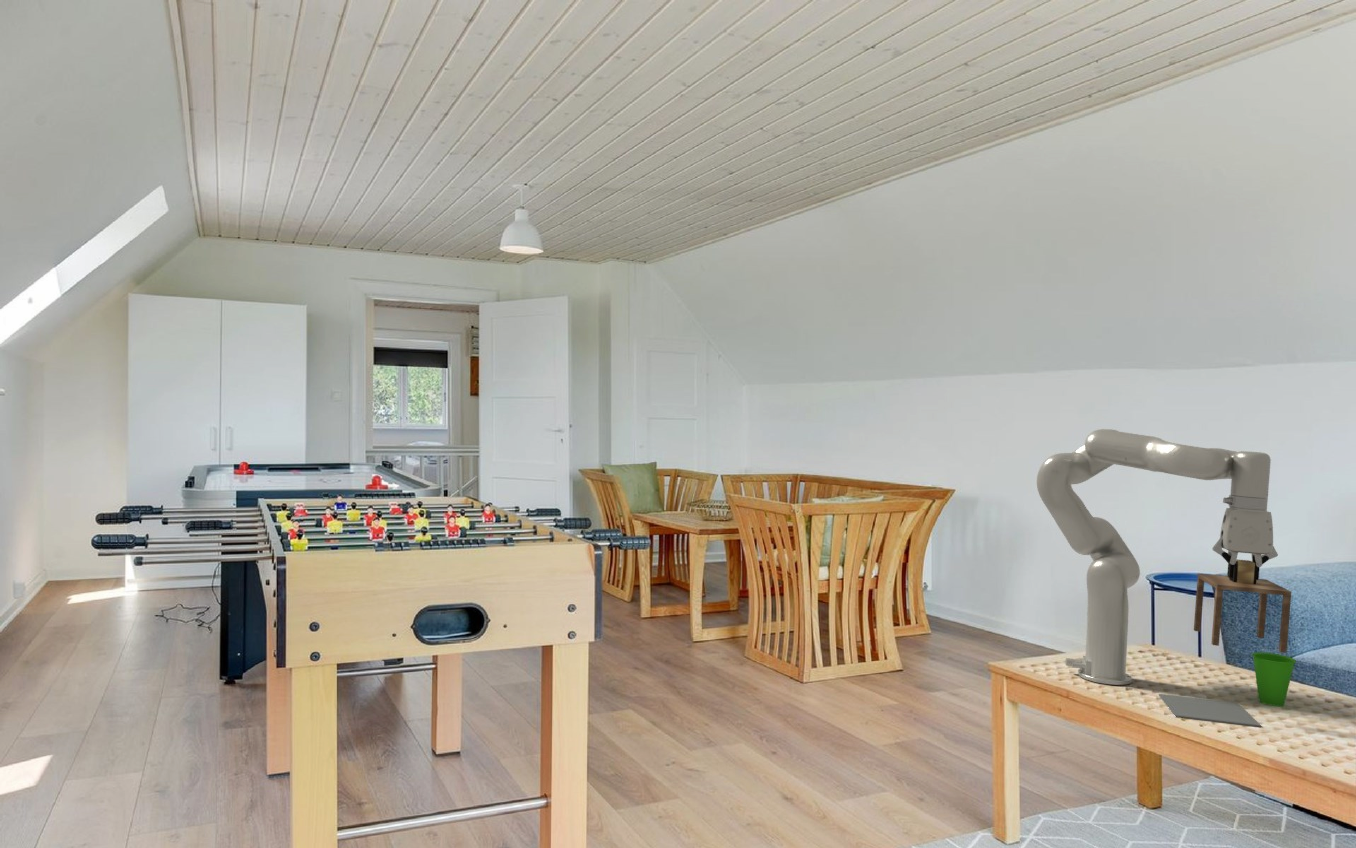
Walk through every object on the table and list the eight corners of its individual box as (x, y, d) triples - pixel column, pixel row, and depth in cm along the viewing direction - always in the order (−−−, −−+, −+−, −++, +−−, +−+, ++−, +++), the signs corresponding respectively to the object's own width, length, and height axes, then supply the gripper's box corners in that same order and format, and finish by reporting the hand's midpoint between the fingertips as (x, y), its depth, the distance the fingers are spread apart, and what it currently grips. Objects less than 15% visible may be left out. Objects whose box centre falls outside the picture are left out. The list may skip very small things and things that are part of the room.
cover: (1213, 645, 212) (1219, 563, 212) (1193, 630, 227) (1199, 553, 226) (1286, 653, 209) (1293, 569, 208) (1262, 637, 223) (1268, 559, 223)
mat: (1175, 717, 208) (1175, 715, 208) (1158, 695, 224) (1158, 693, 224) (1260, 727, 203) (1261, 725, 203) (1237, 704, 220) (1237, 702, 220)
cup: (1301, 710, 217) (1303, 664, 216) (1258, 706, 218) (1260, 660, 218) (1284, 699, 225) (1286, 654, 225) (1243, 695, 227) (1245, 650, 227)
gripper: (1214, 502, 215) (1208, 581, 216) (1294, 508, 211) (1288, 588, 212) (1204, 499, 222) (1198, 575, 223) (1281, 505, 218) (1275, 582, 219)
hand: (1242, 581), depth 217 cm, fingers closed on cover, 3 cm apart
